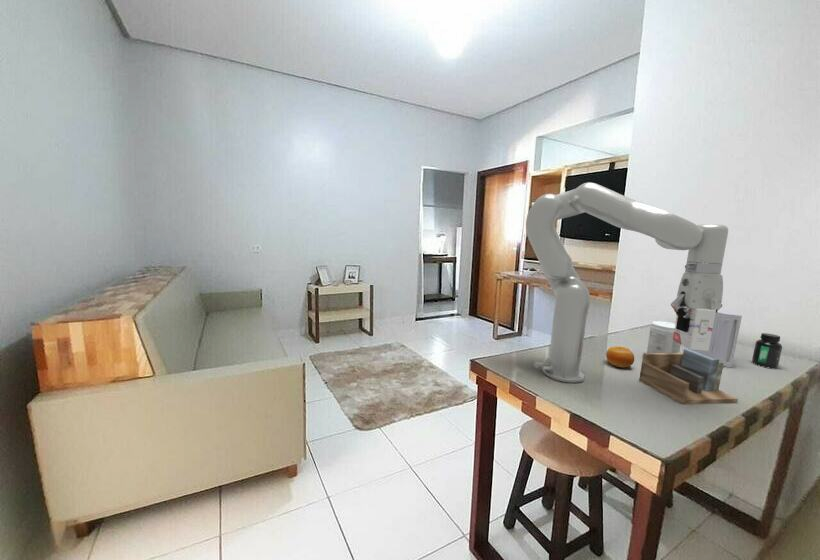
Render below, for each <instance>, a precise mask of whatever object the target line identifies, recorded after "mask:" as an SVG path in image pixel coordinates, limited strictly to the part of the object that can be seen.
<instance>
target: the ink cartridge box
mask: <svg viewBox="0 0 820 560" xmlns="http://www.w3.org/2000/svg"><path fill="white" fill-rule="evenodd" d="M711 299H712V298H711ZM716 302H717V301H716V299H712V300H711V309H691V313H690V315H689V317H688V318H689V319H690V323H689V329H688V332H684V331H681V330H678V329H676V325H677V319H678V316H677V315H676V320H675V323H674V324H675V329H674V335H673V340H674V341H676V342H678V343H679V344H681V346H683V347H685V348H686V349H693V350H704V351H709V346H710V341H711V335H712V330H713V325H714V319H715V314H716ZM686 307H687V306H686ZM686 310H687V309H684V312H686Z"/></svg>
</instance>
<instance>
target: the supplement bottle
mask: <svg viewBox="0 0 820 560" xmlns="http://www.w3.org/2000/svg"><path fill="white" fill-rule="evenodd" d="M780 342H781V336H780V335H777V334H774V333H767V332H762V333H761V335H760V339H757V340H756V341H755V343H754V349H753V354H752V359H751V363H752V362H753V363H752V364H754V363H755V364H754V365H756V364H757V365H756V366H758V365H760V366H759V367H761V366H764V367H763V368H766V367H769V368H768V369H772V368H775V369H777V368H778V367H779V365H780V364H779V363H780V360H781V354H782V350H783V344H781V343H780Z"/></svg>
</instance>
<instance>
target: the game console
mask: <svg viewBox="0 0 820 560" xmlns="http://www.w3.org/2000/svg"><path fill="white" fill-rule="evenodd" d="M742 319H743V315H741V314H739V313H736V312H732V311H731V310H728V309H725V308H724V307H721V308H720V309H719V310H718V311H717V313H716V314H715V319H714V325H713V330H712V335H711V341H710V346H709V351H704V350H696V351H698V352H701V353H703V354H706V355H709V356H711V357H714V358H717V359H719V361H720V362H722V363H724V365H723V368H732V366H733V362H734V356H735V352H736V347H737V343H738V336H739V332H740V327H741V323H742Z"/></svg>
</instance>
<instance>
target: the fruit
mask: <svg viewBox="0 0 820 560" xmlns="http://www.w3.org/2000/svg"><path fill="white" fill-rule="evenodd" d="M605 357H606V361H608V362H609V364H610V365H612V366H614V367H617V368H629V367H631V366H632V365H633V363H634V362H635V355H634V352H633V351H631V350H630V349H629V348H627V347H625V346H610V347H609V348H608V349H607V350H606V352H605Z"/></svg>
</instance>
